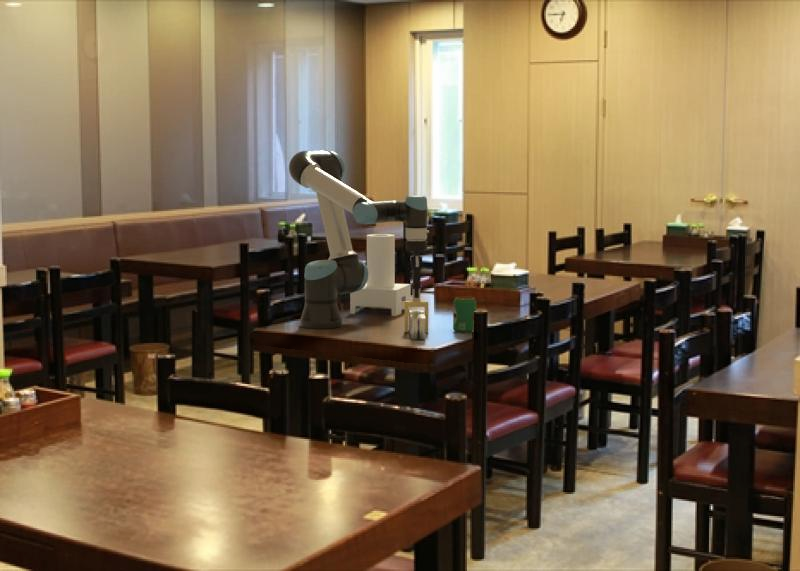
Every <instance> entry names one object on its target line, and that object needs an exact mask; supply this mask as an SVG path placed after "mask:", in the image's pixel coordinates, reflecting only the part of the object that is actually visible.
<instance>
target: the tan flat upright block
mask: <svg viewBox="0 0 800 571" xmlns="http://www.w3.org/2000/svg"><path fill="white" fill-rule="evenodd" d="M408 307H410V308H424V315H425V318H426V333H429V301H428V300H420V301H413V300H411V301H404V332H405V333H408V332H409V310H408Z"/></svg>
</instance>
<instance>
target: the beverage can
mask: <svg viewBox="0 0 800 571" xmlns="http://www.w3.org/2000/svg"><path fill="white" fill-rule="evenodd" d="M452 304H453V305H452V306H453V309H452V310H453V311H452V316H453V317H452V319H453V321H452V322H453V323H452V328H453V329H452V330H453V331H454V333H456V334H472V330H473V312H474V311H476V312H477V301H476V299H475V297H473V296H456V297H454V300H453V303H452Z"/></svg>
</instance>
